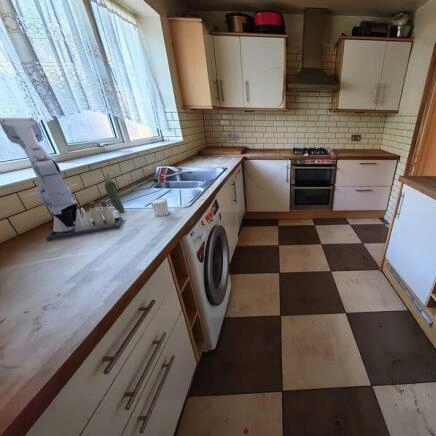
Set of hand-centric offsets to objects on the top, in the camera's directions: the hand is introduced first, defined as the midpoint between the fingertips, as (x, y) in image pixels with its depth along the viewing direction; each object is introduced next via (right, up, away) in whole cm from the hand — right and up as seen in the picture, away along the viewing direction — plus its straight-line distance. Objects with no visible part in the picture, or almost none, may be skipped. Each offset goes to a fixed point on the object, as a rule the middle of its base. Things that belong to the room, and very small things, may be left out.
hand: (72, 224), depth 92 cm
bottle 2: (+11, -1, +6) cm, 13 cm away
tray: (+4, -3, +3) cm, 6 cm away
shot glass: (+26, +4, +18) cm, 32 cm away
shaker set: (0, -3, +2) cm, 4 cm away
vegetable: (+4, +5, +20) cm, 21 cm away
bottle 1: (+8, -1, +5) cm, 9 cm away
